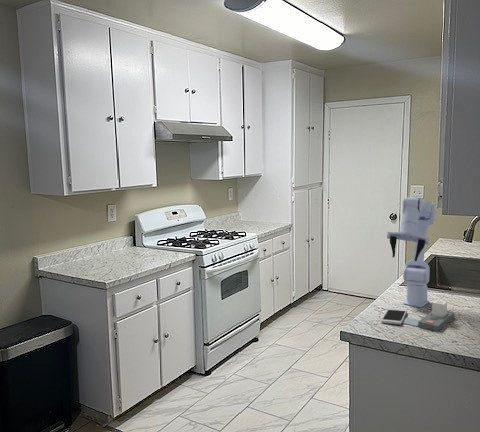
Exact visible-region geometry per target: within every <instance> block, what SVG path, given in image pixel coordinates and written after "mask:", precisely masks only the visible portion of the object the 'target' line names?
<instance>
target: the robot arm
mask: <svg viewBox="0 0 480 432" xmlns="http://www.w3.org/2000/svg"><path fill="white" fill-rule="evenodd" d="M435 214H436V204H435V203H433V202H431V201H427V200H426V201H425V200H423V198H422V197H419V196H415V195H414V196H412V197H411V196H409V197H408V196H407V197H405V198H403V200H402V219H401V226H400V230H399V231H396V232H395V231H393V232H392V231H387V236H386V239H387V240H389V244H390V247H391V251H392V258H395V256H396V247H397V240H398V241H399V240H400V241H404V242H412V243H413V250H412V251H413V252H412V258H411V259H410V260H408V261H406V263H405V264H404V268H403V273H402V279H403V281H404V282H405V284H406V300H404V301H403V302H402V305H403V304H404V305H407V306H412V307H417V308H423V307H424V306H425V305H427V304H428V303H430V300H428V292H429V291H428V290H429V289H428V285H427V284H428V283H429V282H430V274H431V273H430V270H431V269H430V268H431V267H430V265H429V264H428V263H427V262H426V261H424V260H425V251H426V245H429V241H430V237H427V235H428V234H427V233H428V230H429V227H430V226H431V225H434V221H435Z"/></svg>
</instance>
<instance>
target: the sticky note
mask: <svg viewBox="0 0 480 432" xmlns="http://www.w3.org/2000/svg"><path fill="white" fill-rule="evenodd" d="M420 320H421V319H416V318H413V317H412V318H411V317H404V319H403V321H402V323H401V324H405V325H408V326H412V327H418V321H420Z"/></svg>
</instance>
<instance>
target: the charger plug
mask: <svg viewBox="0 0 480 432" xmlns="http://www.w3.org/2000/svg"><path fill="white" fill-rule="evenodd" d="M431 308H432V309H431V312H432V316H436V317H441V318H445V317H447V311H448V302H447V301H444V300H440V299H435V300H434V301H433V302H432V306H431Z"/></svg>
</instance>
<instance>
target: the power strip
mask: <svg viewBox="0 0 480 432" xmlns="http://www.w3.org/2000/svg"><path fill="white" fill-rule="evenodd" d="M454 318H455V312H453V311H448V310H447V317H445V318H441V317H436V316H432V311H431V312H429V313H428V314H426V315H425V316H424V317H422V318H421V319H419V320H420V321H418V327H419V328H421V329H422V328H423V329H424V330H425V329H426V330H430V331H434V332H439V331H440V330H441V329H443V327H445V326H446V325H447V324H448V323H449V322H450V321H452V320H453V319H454Z"/></svg>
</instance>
